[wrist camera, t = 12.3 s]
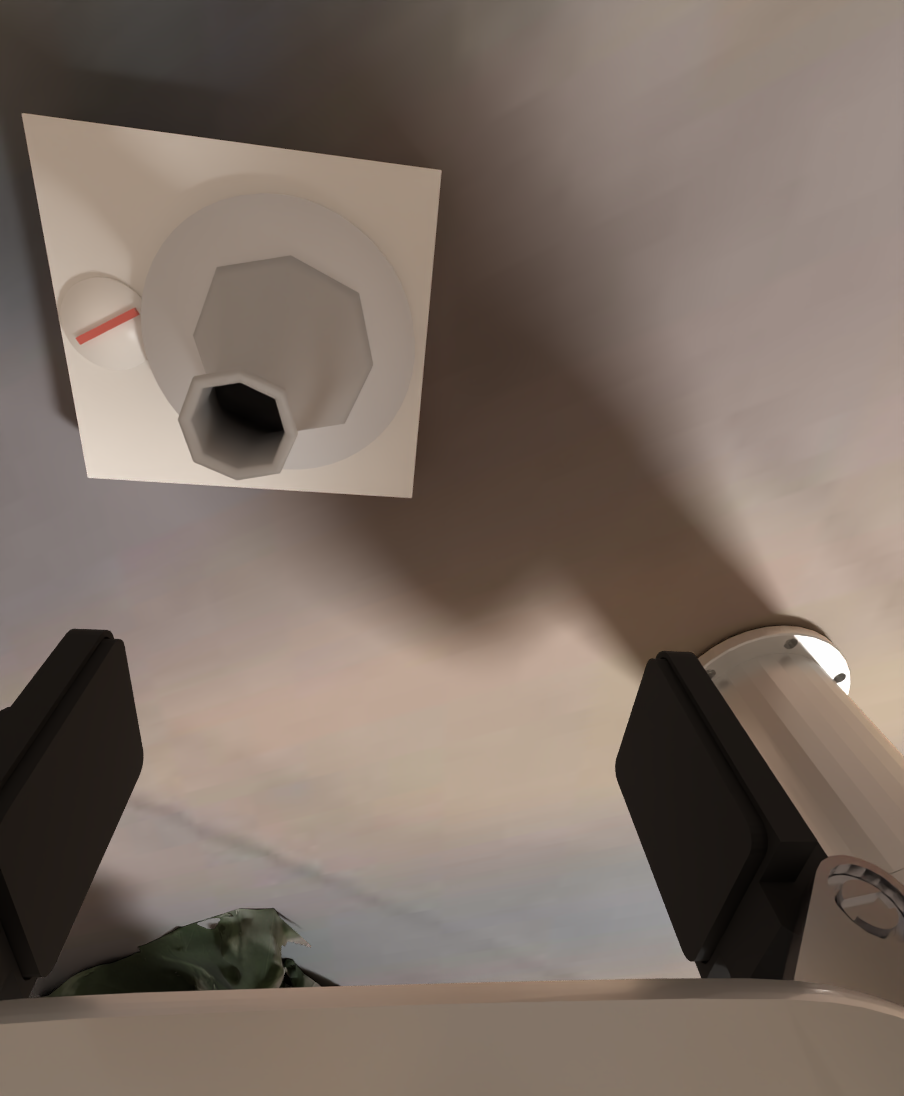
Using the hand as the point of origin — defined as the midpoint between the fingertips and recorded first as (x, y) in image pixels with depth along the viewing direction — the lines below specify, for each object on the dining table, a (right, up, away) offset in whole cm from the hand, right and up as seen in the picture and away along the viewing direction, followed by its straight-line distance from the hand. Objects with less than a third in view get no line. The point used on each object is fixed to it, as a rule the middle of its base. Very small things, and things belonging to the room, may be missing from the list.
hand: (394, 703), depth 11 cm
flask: (-6, +11, +15) cm, 19 cm away
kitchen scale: (-8, +13, +18) cm, 24 cm away
